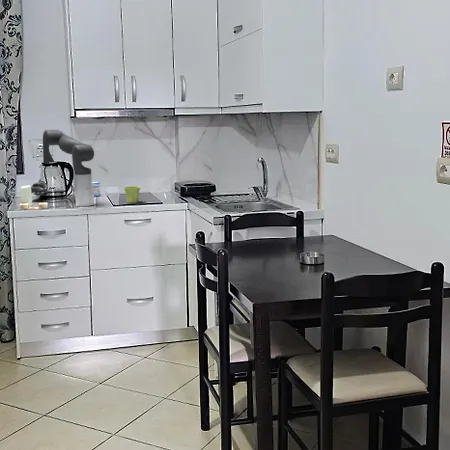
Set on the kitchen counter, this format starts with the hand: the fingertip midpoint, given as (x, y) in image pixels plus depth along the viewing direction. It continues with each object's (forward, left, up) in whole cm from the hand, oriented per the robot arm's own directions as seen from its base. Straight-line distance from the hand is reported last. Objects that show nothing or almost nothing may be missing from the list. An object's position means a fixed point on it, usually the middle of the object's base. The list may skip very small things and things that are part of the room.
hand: (31, 191), depth 377 cm
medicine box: (-18, -36, -7) cm, 41 cm away
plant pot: (-54, -18, -7) cm, 57 cm away
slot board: (-12, +16, -7) cm, 21 cm away
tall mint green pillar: (-4, +11, -7) cm, 13 cm away
